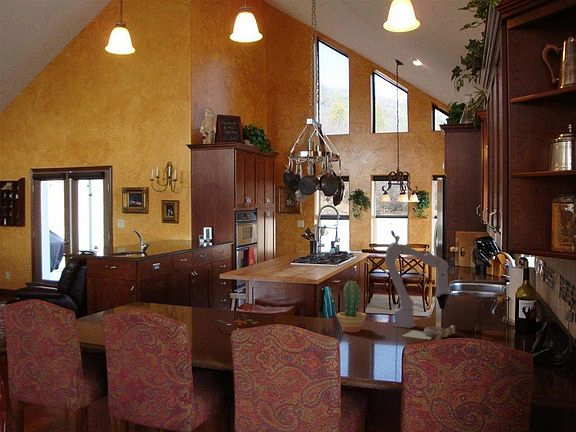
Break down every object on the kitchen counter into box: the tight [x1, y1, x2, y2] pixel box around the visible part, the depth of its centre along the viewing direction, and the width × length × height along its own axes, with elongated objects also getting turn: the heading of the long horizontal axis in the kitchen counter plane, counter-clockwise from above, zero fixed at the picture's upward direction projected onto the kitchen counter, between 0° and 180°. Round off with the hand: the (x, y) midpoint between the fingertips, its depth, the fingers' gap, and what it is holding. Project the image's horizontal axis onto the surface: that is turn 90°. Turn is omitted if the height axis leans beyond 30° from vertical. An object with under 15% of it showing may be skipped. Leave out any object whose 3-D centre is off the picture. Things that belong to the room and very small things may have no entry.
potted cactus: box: [336, 280, 367, 333], centre depth 273 cm, size 15×15×25 cm
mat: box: [401, 330, 432, 341], centre depth 260 cm, size 14×14×1 cm
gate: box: [431, 326, 453, 341], centre depth 252 cm, size 18×1×3 cm, turn 136°
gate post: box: [450, 324, 456, 334], centre depth 260 cm, size 2×2×4 cm
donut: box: [423, 326, 445, 336], centre depth 259 cm, size 10×4×10 cm
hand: (442, 308), depth 278 cm, fingers closed
